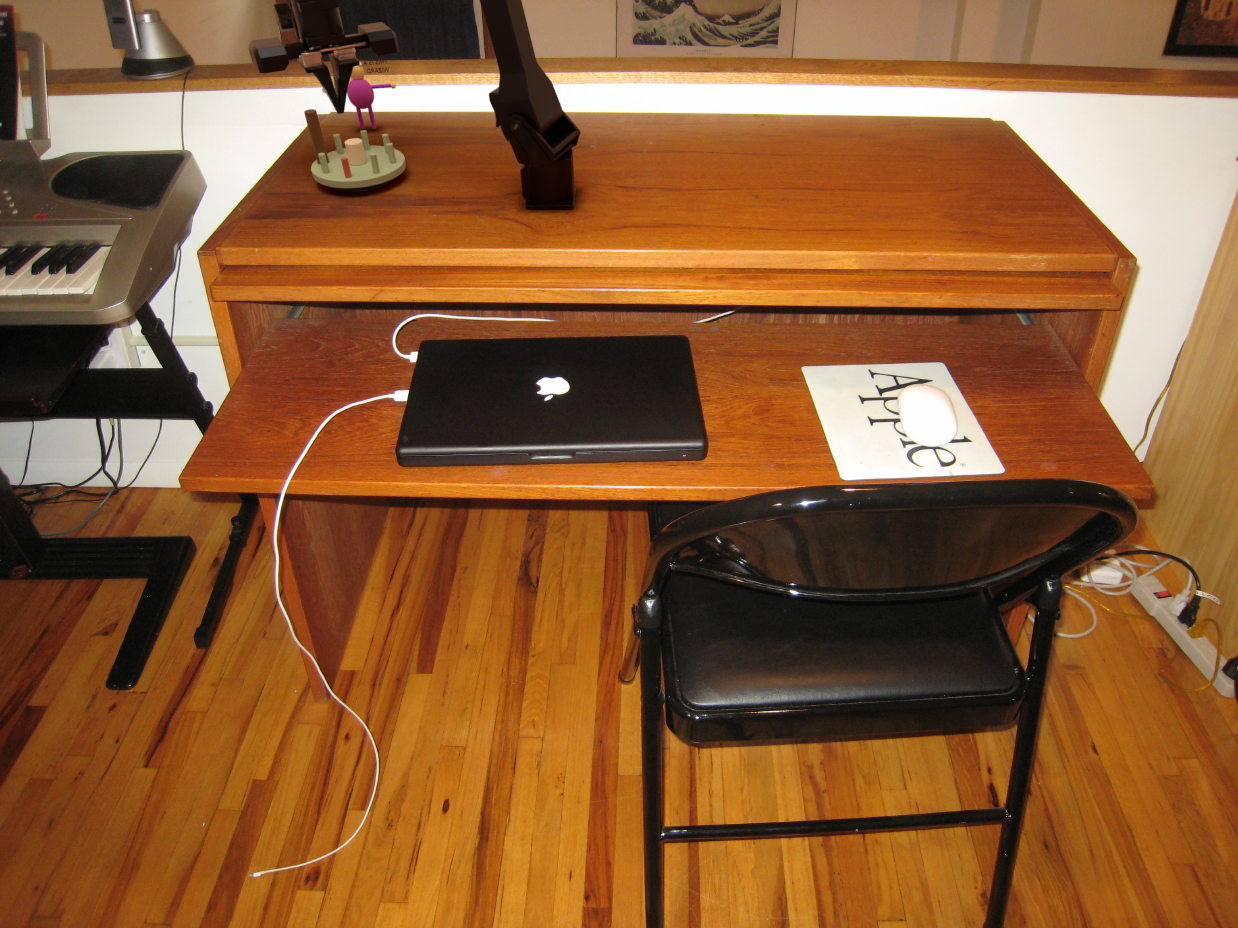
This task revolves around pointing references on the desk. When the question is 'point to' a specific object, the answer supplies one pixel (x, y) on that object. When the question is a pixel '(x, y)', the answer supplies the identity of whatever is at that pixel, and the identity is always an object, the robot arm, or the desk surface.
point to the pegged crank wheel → (352, 159)
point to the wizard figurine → (364, 92)
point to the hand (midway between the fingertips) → (340, 113)
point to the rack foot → (363, 187)
